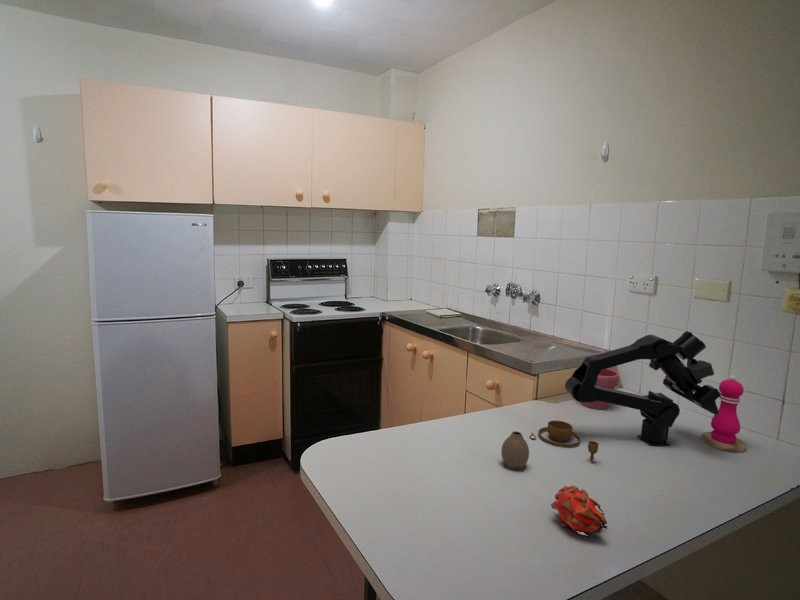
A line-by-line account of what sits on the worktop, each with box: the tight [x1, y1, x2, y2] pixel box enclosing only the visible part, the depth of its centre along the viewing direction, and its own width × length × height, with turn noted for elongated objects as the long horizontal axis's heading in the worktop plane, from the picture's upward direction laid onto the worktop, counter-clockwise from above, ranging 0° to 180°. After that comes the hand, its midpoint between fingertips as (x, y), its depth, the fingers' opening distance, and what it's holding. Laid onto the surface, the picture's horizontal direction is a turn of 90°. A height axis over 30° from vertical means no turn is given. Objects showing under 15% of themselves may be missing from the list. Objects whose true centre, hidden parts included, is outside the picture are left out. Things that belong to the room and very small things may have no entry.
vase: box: [500, 430, 530, 470], centre depth 120 cm, size 7×7×9 cm
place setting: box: [529, 420, 599, 462], centre depth 135 cm, size 18×20×6 cm
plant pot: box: [580, 368, 620, 410], centre depth 169 cm, size 14×14×13 cm
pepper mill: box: [710, 374, 745, 444], centre depth 139 cm, size 7×7×20 cm
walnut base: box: [700, 431, 747, 454], centre depth 141 cm, size 11×11×2 cm
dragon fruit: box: [550, 485, 608, 536], centre depth 95 cm, size 8×8×12 cm
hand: (706, 408), depth 139 cm, fingers open, 9 cm apart
